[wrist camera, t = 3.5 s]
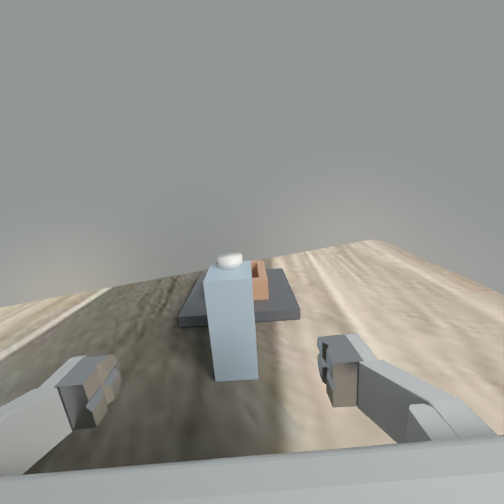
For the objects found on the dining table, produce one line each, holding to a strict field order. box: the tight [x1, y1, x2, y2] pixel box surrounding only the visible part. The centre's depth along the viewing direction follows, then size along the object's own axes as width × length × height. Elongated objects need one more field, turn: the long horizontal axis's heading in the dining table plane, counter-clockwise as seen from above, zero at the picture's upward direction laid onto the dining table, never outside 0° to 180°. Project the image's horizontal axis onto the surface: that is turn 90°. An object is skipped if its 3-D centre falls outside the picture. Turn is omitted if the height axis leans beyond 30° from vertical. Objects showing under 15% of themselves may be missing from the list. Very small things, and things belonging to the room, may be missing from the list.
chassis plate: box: [178, 260, 300, 327], centre depth 38 cm, size 16×16×4 cm
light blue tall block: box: [203, 253, 258, 382], centre depth 23 cm, size 4×5×11 cm
